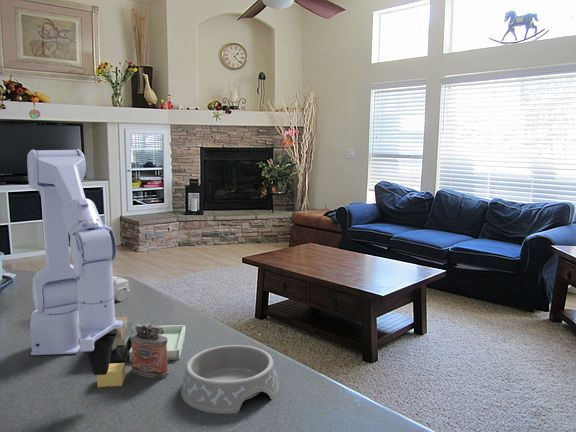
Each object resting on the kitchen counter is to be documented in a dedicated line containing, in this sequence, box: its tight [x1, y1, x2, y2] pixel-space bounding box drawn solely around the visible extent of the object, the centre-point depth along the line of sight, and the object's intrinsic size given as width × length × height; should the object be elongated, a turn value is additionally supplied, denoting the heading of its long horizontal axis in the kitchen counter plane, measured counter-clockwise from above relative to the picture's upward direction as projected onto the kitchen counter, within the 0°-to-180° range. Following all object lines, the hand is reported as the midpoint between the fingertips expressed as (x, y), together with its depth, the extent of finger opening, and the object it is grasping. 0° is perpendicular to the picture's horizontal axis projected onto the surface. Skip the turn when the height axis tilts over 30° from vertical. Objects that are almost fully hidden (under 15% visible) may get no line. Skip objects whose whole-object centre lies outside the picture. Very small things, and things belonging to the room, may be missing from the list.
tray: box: [128, 324, 187, 362], centre depth 111 cm, size 10×14×2 cm
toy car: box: [113, 275, 131, 302], centre depth 137 cm, size 10×20×10 cm, turn 148°
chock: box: [96, 362, 126, 388], centre depth 95 cm, size 4×4×3 cm
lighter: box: [130, 322, 170, 380], centre depth 98 cm, size 8×3×10 cm, turn 68°
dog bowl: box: [180, 344, 280, 415], centre depth 93 cm, size 17×18×5 cm
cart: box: [112, 316, 136, 362], centre depth 107 cm, size 8×11×7 cm
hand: (101, 373), depth 88 cm, fingers closed
